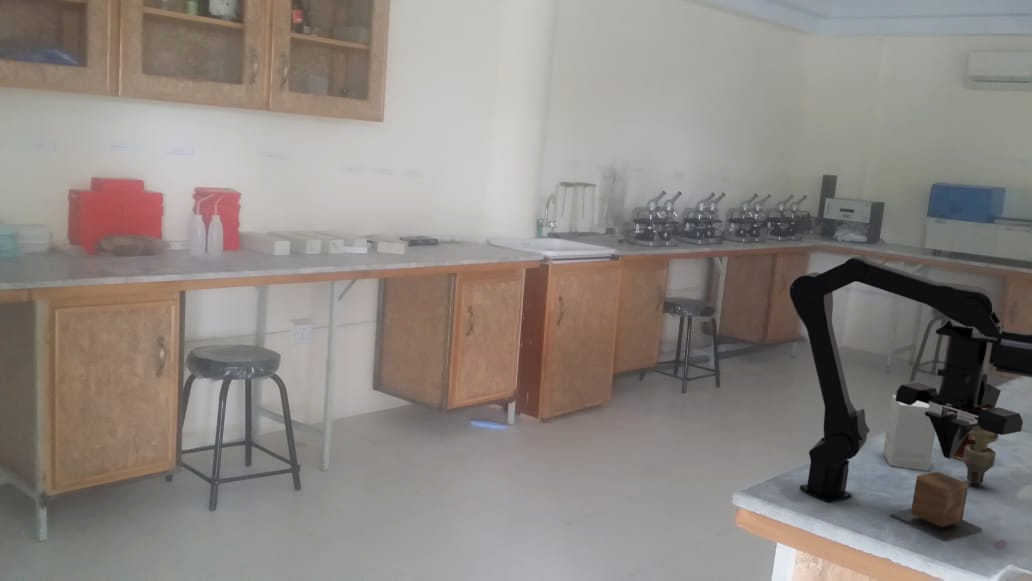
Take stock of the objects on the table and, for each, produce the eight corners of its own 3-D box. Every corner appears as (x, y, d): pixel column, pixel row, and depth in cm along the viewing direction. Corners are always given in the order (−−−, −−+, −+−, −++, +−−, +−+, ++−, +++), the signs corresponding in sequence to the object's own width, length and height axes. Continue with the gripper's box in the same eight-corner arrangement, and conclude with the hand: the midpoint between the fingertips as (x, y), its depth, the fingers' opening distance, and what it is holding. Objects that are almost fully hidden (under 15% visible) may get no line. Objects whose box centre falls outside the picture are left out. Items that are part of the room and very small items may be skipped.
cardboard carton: (941, 527, 144) (948, 488, 143) (910, 513, 149) (917, 475, 148) (961, 521, 147) (968, 483, 146) (931, 508, 152) (937, 471, 150)
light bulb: (988, 493, 163) (1002, 415, 161) (955, 485, 166) (969, 408, 164) (990, 485, 168) (1004, 408, 166) (958, 477, 171) (972, 402, 168)
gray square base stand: (945, 541, 141) (952, 499, 140) (890, 515, 149) (896, 476, 148) (981, 530, 146) (989, 490, 145) (926, 506, 155) (933, 468, 153)
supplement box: (929, 471, 173) (940, 409, 170) (889, 466, 174) (899, 404, 172) (920, 459, 180) (930, 398, 178) (881, 453, 181) (891, 393, 179)
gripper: (1049, 377, 140) (1032, 471, 142) (940, 348, 155) (926, 434, 158) (1010, 382, 134) (992, 481, 136) (900, 352, 149) (886, 441, 152)
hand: (948, 457), depth 146 cm, fingers closed
